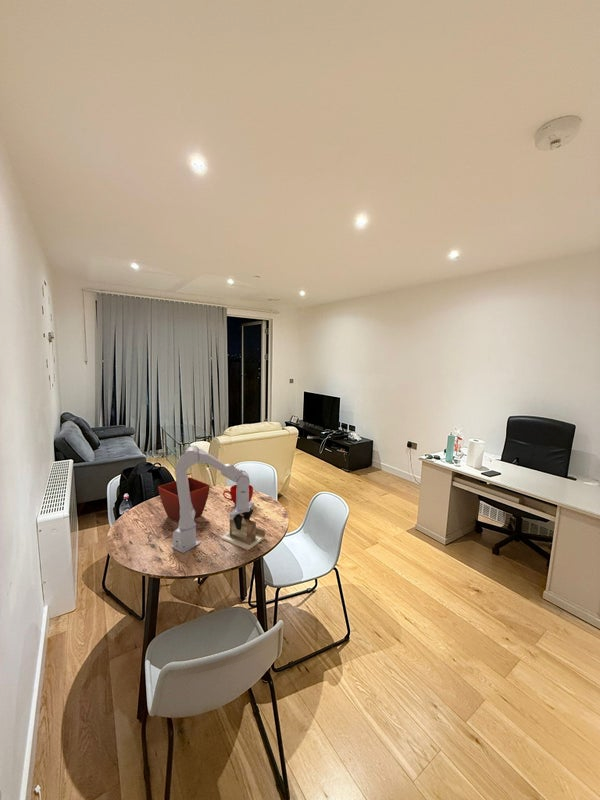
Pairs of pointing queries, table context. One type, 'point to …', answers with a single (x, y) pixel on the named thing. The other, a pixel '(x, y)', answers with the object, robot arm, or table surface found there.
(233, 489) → the ceramic cup
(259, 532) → the tan rimmed flat piece
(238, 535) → the brown slab
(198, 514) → the plant pot
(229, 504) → the table surface
